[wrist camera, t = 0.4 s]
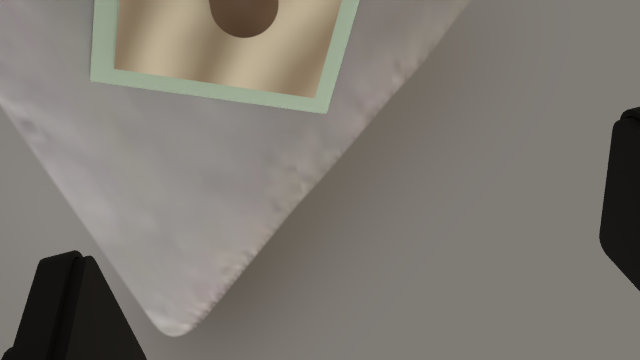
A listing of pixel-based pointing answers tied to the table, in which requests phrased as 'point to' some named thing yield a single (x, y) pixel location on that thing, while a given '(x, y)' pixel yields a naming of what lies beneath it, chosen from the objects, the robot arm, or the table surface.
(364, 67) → the table surface
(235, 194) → the table surface
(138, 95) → the table surface
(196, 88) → the mat
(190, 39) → the cover
